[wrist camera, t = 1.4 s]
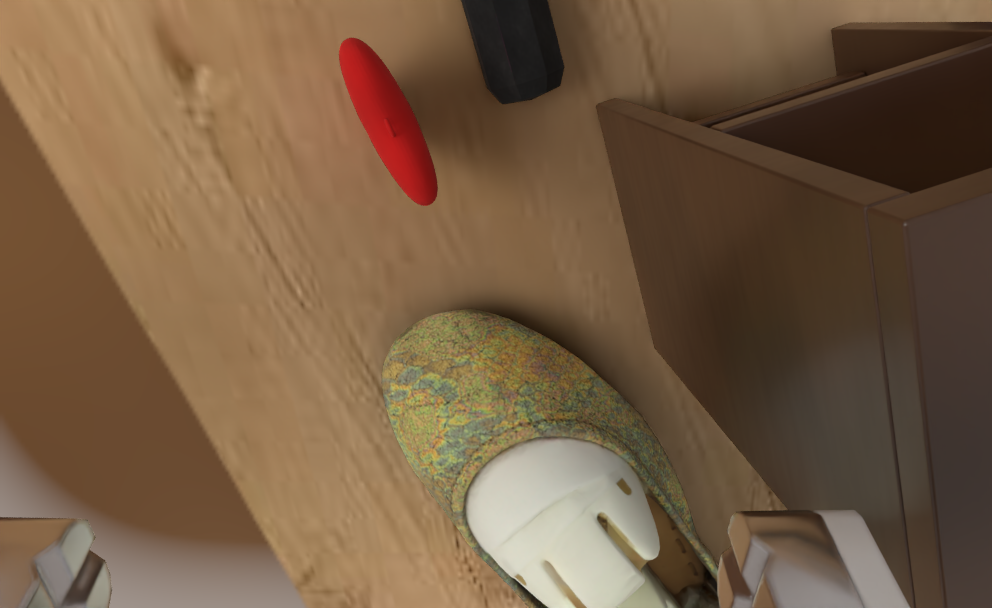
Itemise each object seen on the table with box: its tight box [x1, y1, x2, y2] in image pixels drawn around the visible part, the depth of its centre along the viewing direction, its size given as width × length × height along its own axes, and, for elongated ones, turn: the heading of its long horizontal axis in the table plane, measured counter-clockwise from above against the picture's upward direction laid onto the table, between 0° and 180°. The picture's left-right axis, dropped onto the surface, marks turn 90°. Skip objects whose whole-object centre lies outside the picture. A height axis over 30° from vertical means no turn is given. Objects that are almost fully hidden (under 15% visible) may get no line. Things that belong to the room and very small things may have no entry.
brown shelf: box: [596, 22, 992, 608], centre depth 22 cm, size 10×10×18 cm
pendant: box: [339, 38, 438, 206], centre depth 25 cm, size 5×2×5 cm, turn 25°
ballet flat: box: [382, 309, 720, 608], centre depth 30 cm, size 8×24×8 cm, turn 35°
